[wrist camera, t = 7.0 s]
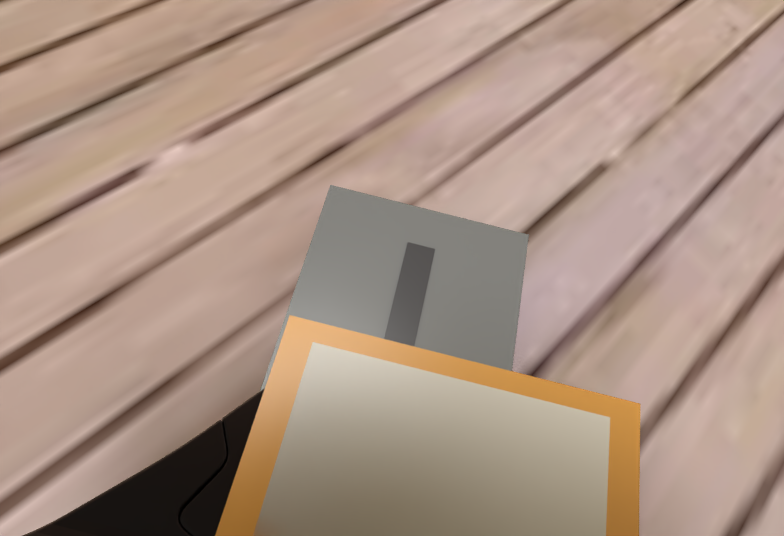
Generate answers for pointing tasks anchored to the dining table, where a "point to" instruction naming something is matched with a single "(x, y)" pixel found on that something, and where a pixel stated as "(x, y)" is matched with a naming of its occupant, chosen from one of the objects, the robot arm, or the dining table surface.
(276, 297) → the dining table surface
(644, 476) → the dining table surface
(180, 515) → the robot arm
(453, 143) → the dining table surface
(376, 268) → the switch plate
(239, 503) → the lever
